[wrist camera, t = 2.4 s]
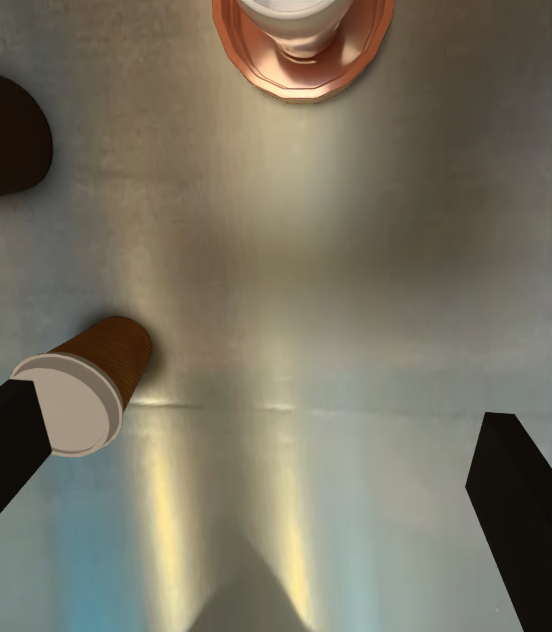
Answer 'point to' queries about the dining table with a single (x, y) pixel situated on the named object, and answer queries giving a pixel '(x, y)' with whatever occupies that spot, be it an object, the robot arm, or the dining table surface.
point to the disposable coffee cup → (88, 384)
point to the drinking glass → (298, 22)
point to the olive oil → (21, 140)
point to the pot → (303, 73)
